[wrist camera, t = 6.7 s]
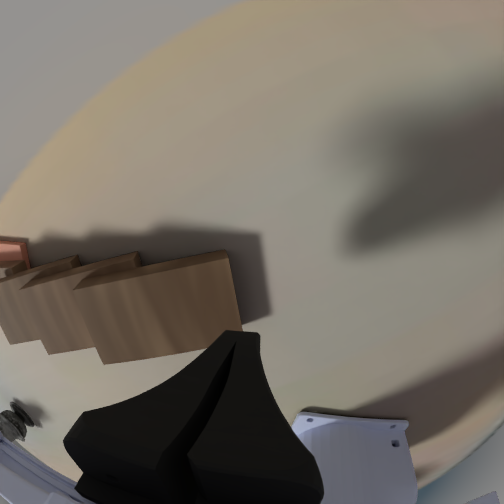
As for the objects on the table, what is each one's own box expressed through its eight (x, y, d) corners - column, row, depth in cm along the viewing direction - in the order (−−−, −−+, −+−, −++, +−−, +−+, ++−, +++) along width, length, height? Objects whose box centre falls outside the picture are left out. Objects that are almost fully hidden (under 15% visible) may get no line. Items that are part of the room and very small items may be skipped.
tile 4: (11, 268, 16) (-29, 268, 18) (32, 324, 18) (-12, 314, 19) (24, 259, 18) (-18, 261, 19) (43, 315, 19) (-2, 306, 21)
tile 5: (19, 245, 17) (-24, 240, 18) (32, 301, 19) (-13, 287, 20) (33, 239, 19) (-13, 235, 20) (44, 293, 21) (-3, 281, 22)
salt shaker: (41, 431, 30) (5, 479, 19) (23, 423, 31) (-11, 466, 20) (20, 404, 28) (-22, 452, 17) (4, 397, 30) (-35, 440, 18)
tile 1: (228, 258, 14) (72, 290, 13) (244, 340, 16) (103, 364, 15) (225, 249, 16) (82, 279, 15) (240, 325, 17) (109, 349, 16)
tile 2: (133, 259, 15) (18, 290, 14) (159, 334, 17) (48, 354, 15) (137, 251, 17) (29, 281, 15) (160, 321, 18) (55, 342, 17)
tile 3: (70, 261, 16) (-16, 287, 14) (95, 328, 17) (10, 344, 16) (77, 254, 17) (-6, 280, 16) (100, 317, 19) (17, 334, 17)
